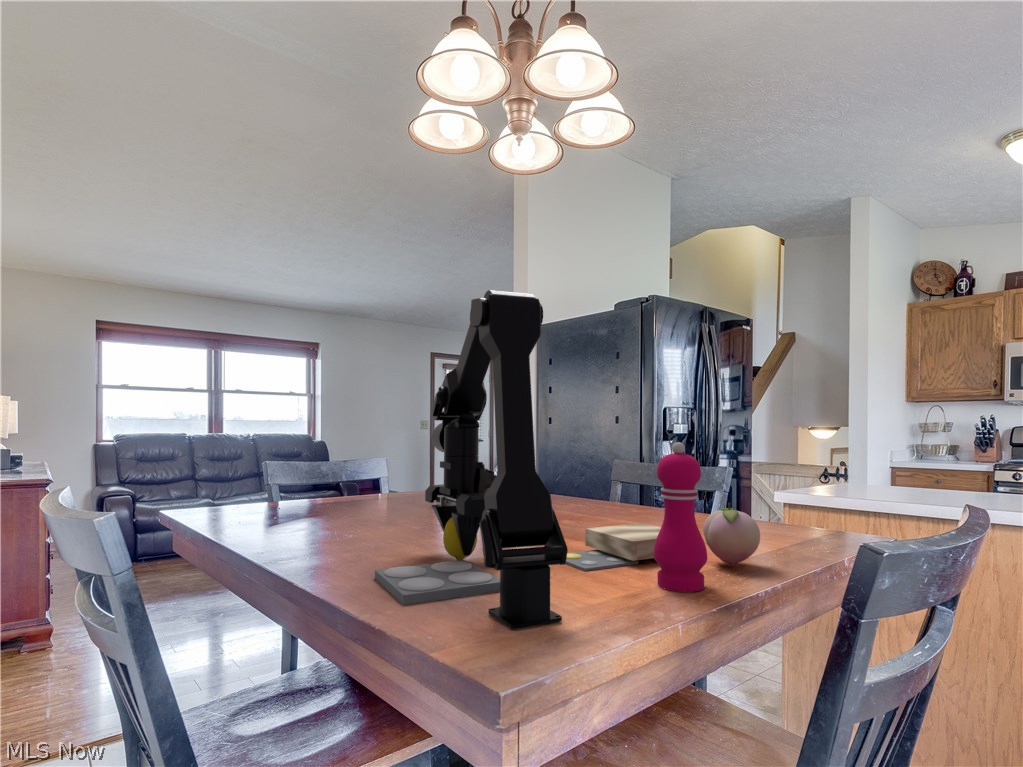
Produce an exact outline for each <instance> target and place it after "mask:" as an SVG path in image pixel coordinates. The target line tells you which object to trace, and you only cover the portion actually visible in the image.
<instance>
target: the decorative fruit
mask: <svg viewBox="0 0 1023 767" xmlns="http://www.w3.org/2000/svg"><path fill="white" fill-rule="evenodd" d="M702 532H703V536H704V537H703V538H704V539H705V542H706V543H705V544H706V545H707V547H708V548H709V550H710V551H711V552H712V553H713V554H714V556H715V557H717V558H718V559H720V560H721V561H722V562H723V563H724V564H725V565H727V566H730V567H732V566H734V565H737V564H738V563H742V562H743V561H746V560H747V559H749V558H750V557H751V556H752V555H754V554H755V553H756V551H757V550H758V548H759V546H760V542H761V531H760V528H759V526H758V524H757V522H756V521H755V519H754V518H752V517H751V516H750V515H749V514H747V512H743V511H741V510H740V511H739V510H736V509H734V508H732V507H731V503H730V502H728V503H727V507H720V509H719V510H716V511H713V512H712V513H710V514H709V515H708V516H707V518H706V519H705V521H704V524H703V527H702Z"/></svg>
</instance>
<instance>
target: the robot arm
mask: <svg viewBox="0 0 1023 767" xmlns="http://www.w3.org/2000/svg"><path fill="white" fill-rule="evenodd" d="M470 301H471V303H470V304H471V305H470V312H469V326H468V329H467V332H466V336H465V339H464V342H463V345H462V348H461V351H460V355H459V358H458V362H457V364H456V366H455V368H453V369H451V370H450V371H449V372H448V373H447V372H446V374H445V376H444V379H443V382H442V384H441V386H439V387H438V390H437V391H436V393H435V396H434V401H433V404H432V408H431V414H432V417H433V421H441V423H439V424H438V425H436V426H435V428H434V429H433V432H432V434H431V440H432V441H431V442H432V444H433V446H434V447H435V449H436V450H438V451H439V452H441V453H443V461H439V468H442V469H443V484H430V485H429V486H428V487H427V488H426V489H425V491H424V492H425V496H424V497H425V498H424V501H425V502H428V503H430V504H431V508H432V509H433V511H434V514H435V517H436V519H437V520H438V523H439V524H440V527H441V529H442V532H443V533H444V529H445V526H446V524H447V522H448V520H449V519H450V518H452V517H453V521H454V524H455V527H456V531H457V535H458V538H459V542H460V545H461V548H462V551H463V554H464V555H465V556H467V555H469V556H470V555H471V554H472V553H473V552H472V549H473V545H474V542H475V539H476V536H477V537H478V532H479V531H480V537H481V544H482V552H483V553H482V555H483V560H484V562H483V566H484V567H485V568H491V569H494V570H495V571H499V579H500V591H499V606H498V607H492V608H489V609H488V612H487V613H488V615H490V616H492V617H493V618H494V619H496V620H497V621H498V622H500V623H502V624H503V625H505V626H507V627H508V628H509V629H511V630H520V629H526V628H531V627H536V626H538V627H539V626H542V625H548V624H553V623H560V622H562V621H563V620H562V619H563V617H562V615H560V614H559V613H557V612H556V611H553V610H551V566H552V565H553V566H554V565H555V566H556V565H560V566H564V565H567V564H566V558H567V553H569V552H568V549H569V548H568V545H567V543H566V540H565V538H564V534H563V531H562V529H561V526H560V524H559V521H558V518H557V515H556V513H555V510H554V508H553V504H552V497H551V491H550V490H549V489H548V487H547V485H546V484H545V482H544V481H543V480H542V478H541V477H540V475H539V473H538V472H537V468H536V467H537V466H536V453H535V452H536V451H535V434H534V416H533V396H532V379H531V361H530V359H531V357H530V356H531V353H532V351H533V350H534V348H535V346H536V344H537V343H538V341H539V339H540V338H541V334H542V324H543V320H544V308H543V305H542V303H541V302H540V299H539V298H537V297H536V296H535V295H534V294H532V293H523V292H515V291H514V292H512V291H503V290H502V291H501V290H491V289H488V290H486V292H485V293H484V295H483V297H481V298H480V297H477V298H474V299H470ZM491 362H492V372H493V373H492V375H493V378H492V379H493V395H494V396H493V398H494V402H493V403H494V421H495V446H496V449H495V450H496V451H495V452H496V469H497V470H496V471H497V472H496V474H495V471H493V470H490V469H488V468H485V464H484V462H483V461H479V457H480V456H479V452H480V451H479V449H480V448H479V447H480V446H479V445H480V444H479V443H480V442H479V441H480V440H479V434H480V433H479V431H480V429H479V428H480V423H479V421H480V420H481V418H482V415H483V412H484V411H485V408H486V405H487V398H488V397H487V394H488V393H487V390H486V388H485V382H484V381H485V379H486V378H485V377H486V375H487V372H488V370H489V367H490V365H491V364H490V363H491ZM434 502H435V504H432V503H434ZM471 552H472V553H471Z"/></svg>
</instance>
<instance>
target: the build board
mask: <svg viewBox="0 0 1023 767" xmlns="http://www.w3.org/2000/svg"><path fill="white" fill-rule="evenodd" d="M374 579H375V580H376V581H377V582H378V583H379V584H380V585H381V586H382V587H383V588H384V587H385V588H384V589H386V591H388V593H390V595H391V596H393V597H394V598H395V599H396V600H397V601H398V602H399V603H401V605H402V606H407V605H413V604H421V603H427V602H429V603H430V602H436V601H441V600H450V599H456V598H463V597H470V596H478V595H483V594H484V595H485V594H491V593H498V592H499V593H500V577H499V578H498V577H497V576H495V575H493V574H491V573H489V572H488V571H486V570H483V569H481V568H480V567H478V566H477V565H474V564H472V563H471V562H468V561H467V560H465V559H464V560H460V561H457V560H454V561H453V560H448V561H440V562H436V563H426V564H416V565H403V566H396V567H390V568H381V569H375V570H374Z"/></svg>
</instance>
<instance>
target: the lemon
mask: <svg viewBox="0 0 1023 767" xmlns="http://www.w3.org/2000/svg"><path fill="white" fill-rule="evenodd" d="M442 539H443V545H444V549H445V551H446V552H447V553H448V555H449V556H450V557H453V558H454V559H455V561H460V560H465V559H466V558H467V557H469V556H470V555H467V556H465V555H464V554H463V551H462V548H461V545H460V542H459V538H458V535H457V531H456V527H455V524H454V521H453V517H452V518H450V519H449V520H448V522H447V524H446V526H445V529H444V532H443V537H442ZM477 543H478V535H477V536H476V539H475V542H474V545H473V549H472V552H471V554H473V552H474V551H475V549H476V546H477Z"/></svg>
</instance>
